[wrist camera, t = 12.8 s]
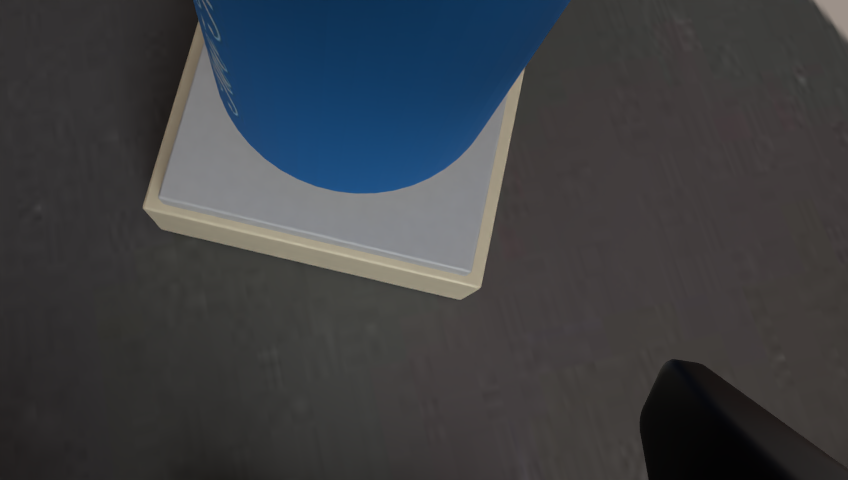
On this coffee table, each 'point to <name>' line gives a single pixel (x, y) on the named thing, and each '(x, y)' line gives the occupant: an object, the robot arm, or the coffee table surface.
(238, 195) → the kitchen scale
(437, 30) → the beverage can
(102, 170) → the coffee table surface
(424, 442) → the coffee table surface
